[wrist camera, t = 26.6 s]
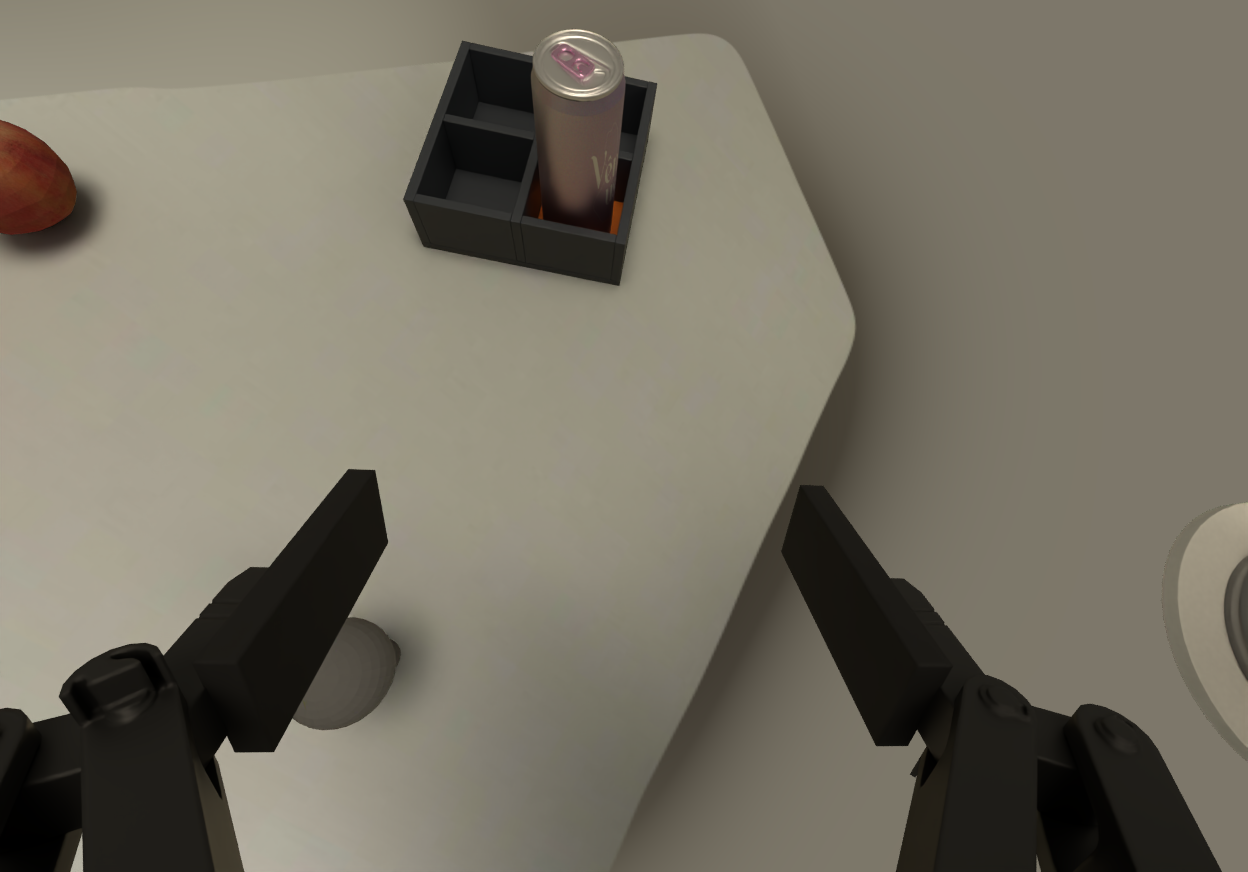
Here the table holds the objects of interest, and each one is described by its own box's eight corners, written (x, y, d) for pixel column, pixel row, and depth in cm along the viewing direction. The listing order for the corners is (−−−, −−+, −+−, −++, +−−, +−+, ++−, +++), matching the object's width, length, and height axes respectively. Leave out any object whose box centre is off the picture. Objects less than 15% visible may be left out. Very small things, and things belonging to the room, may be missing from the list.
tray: (648, 137, 50) (657, 83, 45) (619, 285, 45) (625, 244, 39) (474, 99, 49) (462, 40, 44) (423, 246, 44) (402, 199, 39)
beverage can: (574, 189, 46) (574, 11, 32) (624, 227, 46) (646, 63, 31) (529, 228, 45) (508, 59, 30) (580, 269, 44) (583, 115, 30)
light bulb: (387, 595, 36) (319, 597, 26) (446, 647, 35) (398, 668, 26) (326, 663, 34) (229, 691, 25) (386, 718, 33) (311, 770, 24)
